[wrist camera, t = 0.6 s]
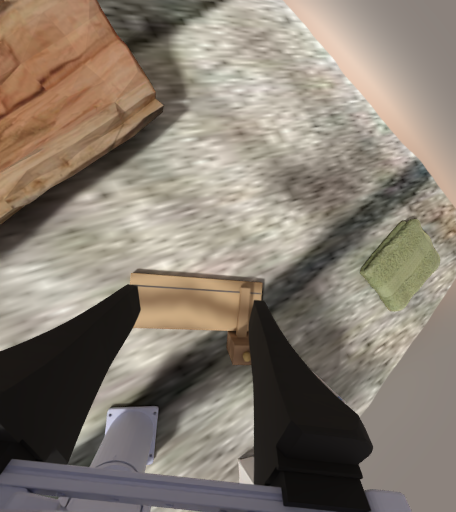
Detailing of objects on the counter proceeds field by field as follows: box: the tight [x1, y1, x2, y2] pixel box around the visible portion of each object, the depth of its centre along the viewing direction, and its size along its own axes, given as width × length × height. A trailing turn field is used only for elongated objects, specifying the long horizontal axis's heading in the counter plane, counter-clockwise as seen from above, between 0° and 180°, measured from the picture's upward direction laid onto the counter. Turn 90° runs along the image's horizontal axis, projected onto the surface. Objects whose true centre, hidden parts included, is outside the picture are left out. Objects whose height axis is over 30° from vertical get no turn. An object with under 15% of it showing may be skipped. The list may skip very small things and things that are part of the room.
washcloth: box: [360, 219, 440, 311], centre depth 42 cm, size 13×18×3 cm
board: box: [130, 273, 263, 331], centre depth 35 cm, size 9×23×1 cm, turn 84°
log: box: [0, 0, 164, 225], centre depth 27 cm, size 42×18×15 cm, turn 131°
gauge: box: [227, 287, 251, 365], centre depth 34 cm, size 12×4×7 cm, turn 174°
